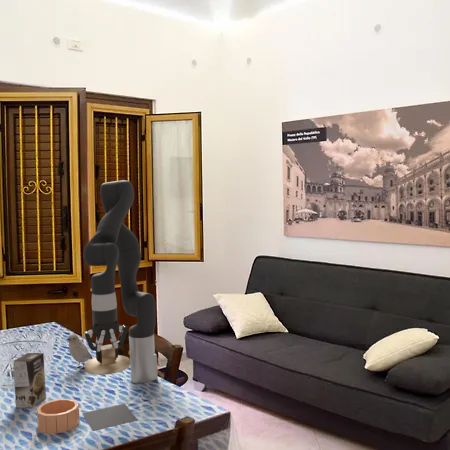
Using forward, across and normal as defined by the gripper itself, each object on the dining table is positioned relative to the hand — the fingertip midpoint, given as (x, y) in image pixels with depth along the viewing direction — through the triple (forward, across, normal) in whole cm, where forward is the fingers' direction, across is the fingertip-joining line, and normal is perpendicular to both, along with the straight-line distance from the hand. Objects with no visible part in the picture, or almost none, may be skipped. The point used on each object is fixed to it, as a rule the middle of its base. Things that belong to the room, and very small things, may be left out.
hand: (107, 360), depth 167 cm
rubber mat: (+19, 0, 0) cm, 19 cm away
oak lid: (+2, 0, 0) cm, 2 cm away
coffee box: (+19, +20, -26) cm, 38 cm away
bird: (+19, -2, -51) cm, 55 cm away
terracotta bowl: (+19, +15, -3) cm, 24 cm away
